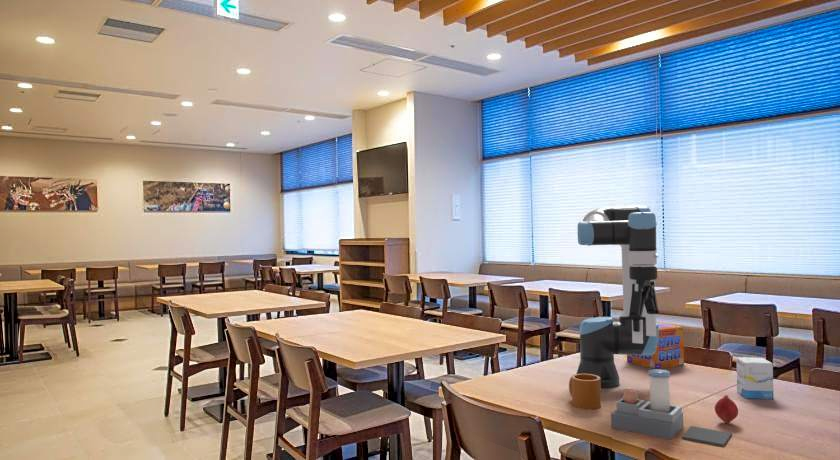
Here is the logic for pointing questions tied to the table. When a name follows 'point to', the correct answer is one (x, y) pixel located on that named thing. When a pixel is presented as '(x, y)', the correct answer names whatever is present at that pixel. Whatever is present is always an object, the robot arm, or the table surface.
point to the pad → (707, 436)
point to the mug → (585, 391)
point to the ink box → (755, 378)
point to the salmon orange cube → (630, 396)
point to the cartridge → (659, 390)
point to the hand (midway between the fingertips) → (644, 339)
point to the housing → (647, 419)
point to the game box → (664, 349)
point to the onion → (726, 409)
